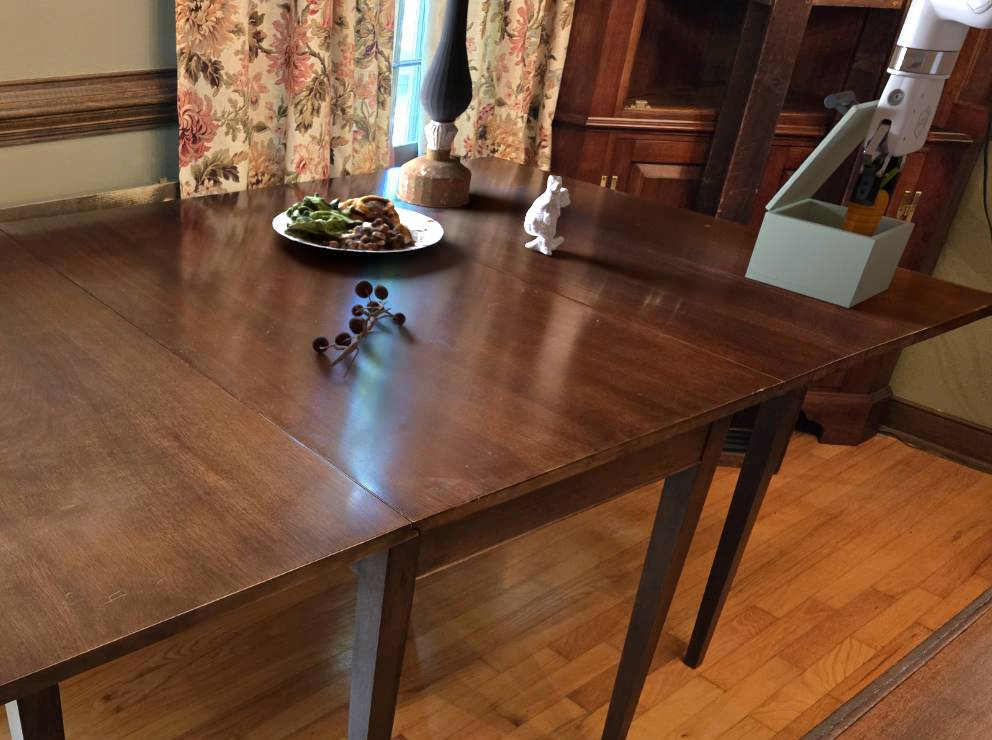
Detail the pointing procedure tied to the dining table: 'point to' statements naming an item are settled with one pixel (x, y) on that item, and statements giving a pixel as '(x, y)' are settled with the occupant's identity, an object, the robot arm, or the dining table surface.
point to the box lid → (828, 149)
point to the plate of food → (357, 225)
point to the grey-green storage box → (826, 253)
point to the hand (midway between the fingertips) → (869, 199)
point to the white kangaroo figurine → (547, 216)
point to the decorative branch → (359, 323)
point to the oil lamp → (442, 120)
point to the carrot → (868, 211)
